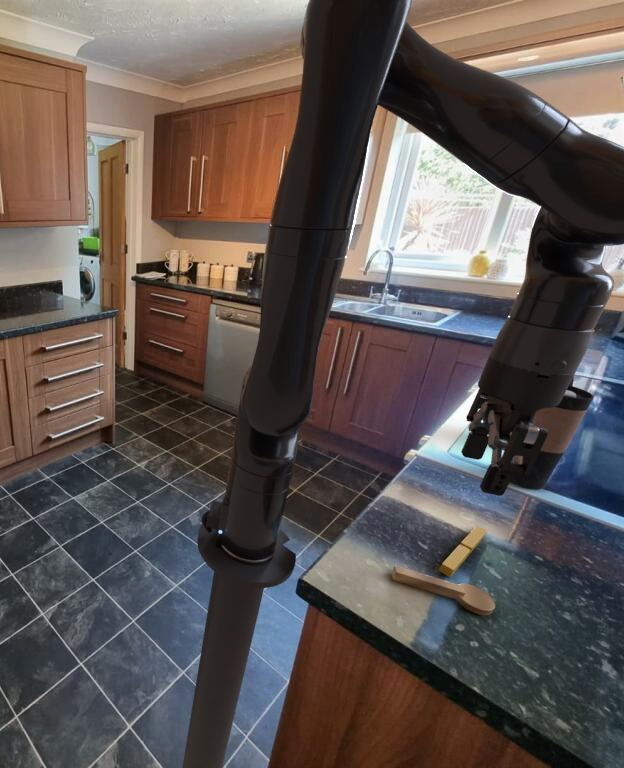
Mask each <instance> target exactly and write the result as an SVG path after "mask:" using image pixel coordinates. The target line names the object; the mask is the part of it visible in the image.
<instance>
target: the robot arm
mask: <svg viewBox="0 0 624 768" xmlns="http://www.w3.org/2000/svg"><path fill="white" fill-rule="evenodd" d="M412 2H413V0H309V1H308V2H307V5H306V9H305V13H304V16H303V22H302V27H301V33H300V52H301V57H302V61H303V62H302V63H303V64H302V74H301V75H302V76H301V85H300V93H299V103H298V111H297V117H296V123H295V128H294V132H293V136H292V140H291V144H290V147H289V150H288V153H287V156H286V160H285V163H284V166H283V169H282V172H281V176H280V178H279V183H278V186H277V190H276V194H275V198H274V202H273V206H272V211H271V215H270V219H269V226H268V230H267V237H266V244H265V249H264V254H263V265H262V275H261V287H260V318H259V332H258V340H257V344H256V348H255V352H254V357H253V360H252V363H251V365H250V366H249V368H248V369H247V370H246V372H245V374H244V375H243V379H242V384H241V390H240V396H239V403H238V409H237V417H236V422H235V426H234V434H233V439H232V440H233V441H232V448H231V455H230V461H229V466H228V467H229V468H228V473H227V479H226V480H227V481H226V487H225V492H224V495H223V498H222V501H218V500H214V499H213V501H212V503H211V506H210V507H209V510H207V511H206V512H205V513H203V514H202V516H201V525H202V524H203V526H204V527H205V529H206V530H207V531H208V532H212V528H213V529H216V530H218V531H217V538H216V544H215V546H216V547H217V548H220V549H222V550H223V551H224V552H225V553H226V554H227V555H228V556H229V557H231V558H232V559H234V560H236V561H238V562H241V563H244V564H248V565H261V564H264V563H267V562H268V561H270V560H271V559H272V558H273V556H274V553H275V549H276V542H277V537H278V533H279V529H281V524H282V520H283V516H284V512H285V507H286V503H287V499H288V494H289V492H290V491H289V490H290V485H291V483H292V479H293V473H294V469H295V464H296V461H297V456H298V447H299V446H298V444H299V436H300V435H299V434H300V428H301V427H302V426H303V425H304V424H305V422H306V421H307V420H308V418H309V416H310V414H311V411H312V408H313V398H314V388H315V378H316V372H317V371H316V370H317V364H318V355H319V352H320V351H319V350H320V346H321V341H322V337H323V334H324V331H325V327H326V325H327V322H328V319H329V316H330V313H331V310H332V307H333V304H334V301H335V298H336V294H337V291H338V288H339V285H340V281H341V278H342V273H343V271H344V267H345V264H346V260H347V256H348V253H349V249H350V244H351V240H352V236H353V233H354V228H355V224H356V218H357V213H358V209H359V203H360V197H361V193H362V189H363V188H362V187H363V183H364V177H365V171H366V167H367V166H366V165H367V159H368V153H369V146H370V139H371V136H372V135H371V134H372V128H373V125H374V120H375V116H376V113H377V110H378V107H380V108H383V109H384V110H386V111H388V112H390V113H391V114H393V115H394V116H396V117H397V118H400V119H401V120H402V121H404V122H406V123H407V124H409V125H411V126H412V127H413V128H415V129H416V130H418V131H419V132H420V133H422V134H423V135H424V136H426V137H427V138H428V139H430V140H431V141H432V142H434V143H436V144H437V145H438V146H440V148H442V149H444V151H446V152H447V153H449V154H450V155H452V156H453V157H454V158H455V159H457V160H458V161H459V162H461V163H462V164H463V165H465V166H466V167H467V168H468V169H470V170H471V171H472V172H474V173H475V174H476V175H478V176H479V177H481V178H482V179H484V180H485V181H486V182H488V183H489V184H491V186H493V187H495V188H496V189H498V190H499V191H501V192H503V193H505V194H507V195H510V196H514V197H517V198H518V197H519V198H523V199H526V200H529V202H530V201H531V202H532V203H534V204H536V205H537V206H539V208H538V210H537V212H536V214H535V217H534V220H533V223H532V227H531V231H530V236H529V241H528V242H529V243H528V247H527V248H528V249H527V255H526V259H525V272H524V279H523V282H522V284H521V285H520V288H519V290H518V291H517V292H518V293H517V294H516V297H515V299H514V301H513V304H512V306H511V309H510V311H509V314H508V316H507V318H506V320H505V322H504V324H503V325H502V326H501V328H500V330H499V332H498V334H497V335H496V338H495V340H494V342H493V345H492V348H491V350H490V352H489V355H488V358H487V360H486V362H485V365H484V368H483V370H482V372H481V375H480V376H479V380H478V382H477V388H478V391H477V392H476V395H475V397H474V399H473V402H472V404H471V405H470V408H469V411H468V413H467V415H466V422H470V423H469V425H468V431H469V432H468V435H467V438H466V440H465V442H464V444H463V447H462V449H461V455H462V457H464V458H467V459H472V460H476V461H478V460H482V459H483V456H484V455H485V453H486V451H487V448H488V447H489V448H490V449H491V450H492V451H491V460H490V464H489V465H488V466H487V469H486V472H485V473H484V476H483V478H482V480H481V482H480V485H479V488H480V490H481V491H482V492H483V493H484V494H489V495H494V496H498V497H501V496H503V495H505V493H506V491H507V488H508V486H509V484H510V480H511V478H512V476H513V474H518V475H522V476H526V477H527V476H529V474H530V472H531V470H532V468H533V466H534V463H535V461H536V459H537V457H538V455H539V453H540V451H541V448H542V446H543V444H544V442H545V440H546V438H547V435H548V430H547V429H544V428H538V427H535V426H534V420H535V416H536V412H537V411H538V410H540V409H544V408H552V407H555V406H557V405H559V404H560V402H561V400H562V398H563V396H564V394H565V392H566V390H567V388H568V386H569V384H570V382H571V380H572V378H573V377H574V378H575V376H576V372H577V371H578V369H579V366H580V365H581V363H582V361H583V359H584V357H585V355H586V352H587V351H588V348H589V345H590V342H591V338H592V335H593V332H594V329H595V327H596V326H597V323H598V322H599V319H600V318H601V316H602V314H603V312H604V309H605V308H606V307H607V304H608V302H609V300H610V298H611V295H612V293H613V290H614V287H615V280H614V278H613V276H612V275H611V274H610V273H609V272H608V271H606V270H605V269H604V266H603V262H604V257H605V253H606V249H607V247H614V246H621V245H624V146H622V145H621V144H618V143H617V142H614V141H612V140H609V139H608V138H604V137H603V136H602V137H601V136H599V135H597V134H593V133H591V132H589V131H586V130H585V129H583V128H582V127H580V126H579V125H578V124H577V123H576V122H575V121H574V120H572V119H571V118H570V117H568V116H567V115H566V114H565V113H563V112H562V111H560V110H559V109H557V108H556V107H555V106H554V105H552V104H551V103H549V102H548V101H546V100H545V99H544V98H543V97H541V96H539V95H538V94H537V93H535V92H534V91H532V90H530V89H528V88H526V87H525V86H523V85H521V84H519V83H517V82H515V81H513V80H510V79H508V78H506V77H504V76H502V75H499V74H497V73H494V72H491V71H488V70H486V69H482V68H480V67H477V66H475V65H472V64H468V63H466V62H464V61H461V60H460V59H458V58H454V57H453V56H451V55H449V54H447V53H446V52H444V51H442V50H440V49H438V48H437V47H436V46H434V45H433V44H431V43H430V42H429V41H427V40H426V39H425V38H424V37H422V36H421V35H420V34H419V33H418V32H417V31H416V30H415V29H414V28H413V27H412V26H411V25H410V23H409V22H408V17H409V15H410V12H411V9H412ZM504 441H505V442H504ZM523 457H525V458H524V460H523ZM522 460H523V462H522Z"/></svg>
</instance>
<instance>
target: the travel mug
mask: <svg viewBox="0 0 624 768" xmlns="http://www.w3.org/2000/svg"><path fill="white" fill-rule="evenodd" d="M593 400H594V395H593V394H592V393H591V392H589V391H587V390H585V389H583V388H579V387H577V386H574V385H573V386H570V385H569V386H568V388H567V390H566V392H565V394H564V396H563V398H562V400H561V402H560V404H559V405H557V406H555V407H552V408H544V409H540V410H538V411H537V412H536V416H535V420H534V426H535V427H538V428H544V429H547V430H548V435H547V438H546V440H545V442H544V444H543V446H542V448H541V451H540V453H539V455H538V457H537V459H536V461H535V463H534V466H533V468H532V470H531V472H530V474H529V476H527V477H526V476H522V475H518V474H513V476H512V478H511V480H510V482H509V484H510V483H511V484H513V485H515V486H517V487H521V488H524V489H529V490H542V489H543V488H544V487H545V486H546V484H547V482H548V481H549V479H550V477H551V476H552V474H553V473H554V471H555V469H556V468H557V466H558V464H559V462H560V461H561V459H562V458H563V456H564V455H565V453H566V451H567V449H568V447H569V446H570V444H571V442H572V440H573V438H574V436H575V434H576V432H577V430H578V428H579V426H580V424H581V422H582V421H583V418H584V417H585V415H586V413H587V412H588V409H589V407H590V406H591V403H592V402H593ZM524 458H525V457H523V460H524ZM523 460H522V462H523Z"/></svg>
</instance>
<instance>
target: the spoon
mask: <svg viewBox="0 0 624 768" xmlns="http://www.w3.org/2000/svg"><path fill="white" fill-rule="evenodd" d="M391 577H392V580H393V581H395V582H399V583H401V584H404V585H407V586H412V587H415V588H418V589H421V590H424V591H427V592H430V593H434V594H437V595H440V596H442V597H443V596H444V597H446V598H450V599H453V600H455V601H456V602H457V603H458V604H459V605H460V606H461V607H463V608H464V609H466V610H468V611H469V612H471V613H473V614H476V615H479V616H490V615H492V614H493V612H494V611H495V608H496V603H495V601H494V600H493V598H492V597H491V596H490V595H489V594H488V593H487V592H486V591H484V590H483V589H481V588H480V587H478V586H474V585H473V584H469V583H459V584H457V583H454V582H452V581H447V580H445V579H441V578H437V577H435V576H431V575H428V574H424V573H421V572H418V571H415V570H412V569H408V568H404V567H401V566H398V565H394V566H393V569H392V571H391Z"/></svg>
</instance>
